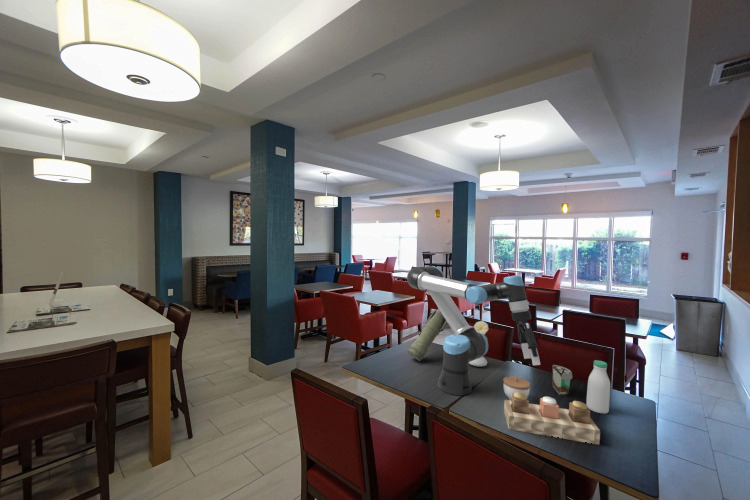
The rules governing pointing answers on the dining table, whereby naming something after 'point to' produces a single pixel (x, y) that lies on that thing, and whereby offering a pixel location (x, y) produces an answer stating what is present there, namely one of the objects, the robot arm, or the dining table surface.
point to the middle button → (549, 407)
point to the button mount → (551, 424)
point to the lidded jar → (515, 386)
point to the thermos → (428, 335)
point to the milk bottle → (598, 388)
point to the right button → (579, 412)
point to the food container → (561, 379)
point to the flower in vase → (482, 329)
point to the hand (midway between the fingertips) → (532, 361)
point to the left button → (520, 403)
